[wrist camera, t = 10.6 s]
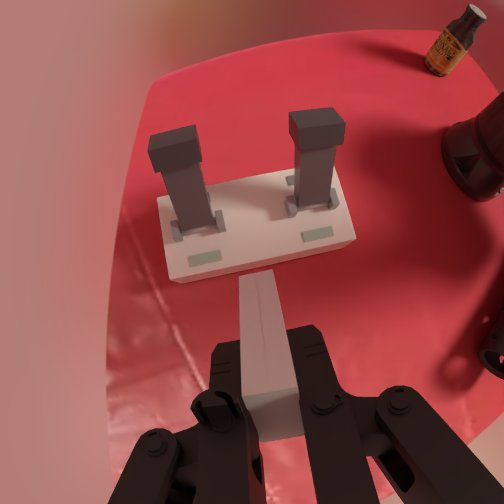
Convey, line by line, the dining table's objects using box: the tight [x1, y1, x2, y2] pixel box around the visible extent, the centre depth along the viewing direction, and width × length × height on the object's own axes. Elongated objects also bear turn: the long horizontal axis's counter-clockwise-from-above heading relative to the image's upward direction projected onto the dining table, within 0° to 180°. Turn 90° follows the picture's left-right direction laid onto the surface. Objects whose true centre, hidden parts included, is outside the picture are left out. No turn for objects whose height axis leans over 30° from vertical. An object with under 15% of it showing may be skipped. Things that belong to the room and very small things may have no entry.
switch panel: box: [157, 167, 356, 284], centre depth 37 cm, size 10×22×8 cm, turn 103°
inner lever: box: [289, 107, 346, 207], centre depth 30 cm, size 3×4×11 cm
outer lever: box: [148, 125, 214, 230], centre depth 30 cm, size 3×4×11 cm
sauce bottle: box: [424, 4, 486, 77], centre depth 38 cm, size 7×6×20 cm
